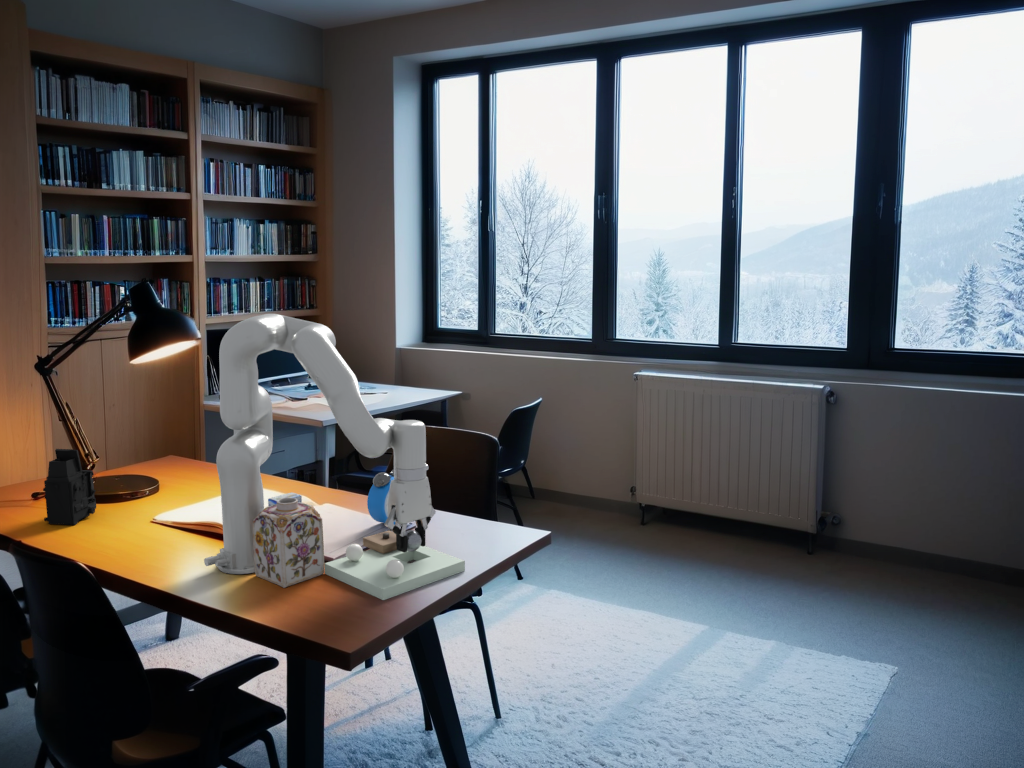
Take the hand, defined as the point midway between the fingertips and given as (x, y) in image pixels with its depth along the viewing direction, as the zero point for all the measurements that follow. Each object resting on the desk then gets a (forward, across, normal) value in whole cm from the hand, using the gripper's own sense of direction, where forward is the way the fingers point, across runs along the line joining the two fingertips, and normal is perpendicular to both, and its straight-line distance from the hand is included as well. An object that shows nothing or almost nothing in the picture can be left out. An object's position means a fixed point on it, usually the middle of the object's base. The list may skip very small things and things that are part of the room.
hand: (411, 547), depth 204 cm
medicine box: (+5, +5, -47) cm, 47 cm away
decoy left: (0, +11, -7) cm, 13 cm away
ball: (-2, 0, 0) cm, 2 cm away
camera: (+5, +42, -96) cm, 105 cm away
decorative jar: (+5, +23, -16) cm, 29 cm away
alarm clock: (+5, -17, -29) cm, 34 cm away
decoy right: (0, +11, +8) cm, 13 cm away
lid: (+2, 0, -10) cm, 10 cm away
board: (+5, +5, 0) cm, 7 cm away
